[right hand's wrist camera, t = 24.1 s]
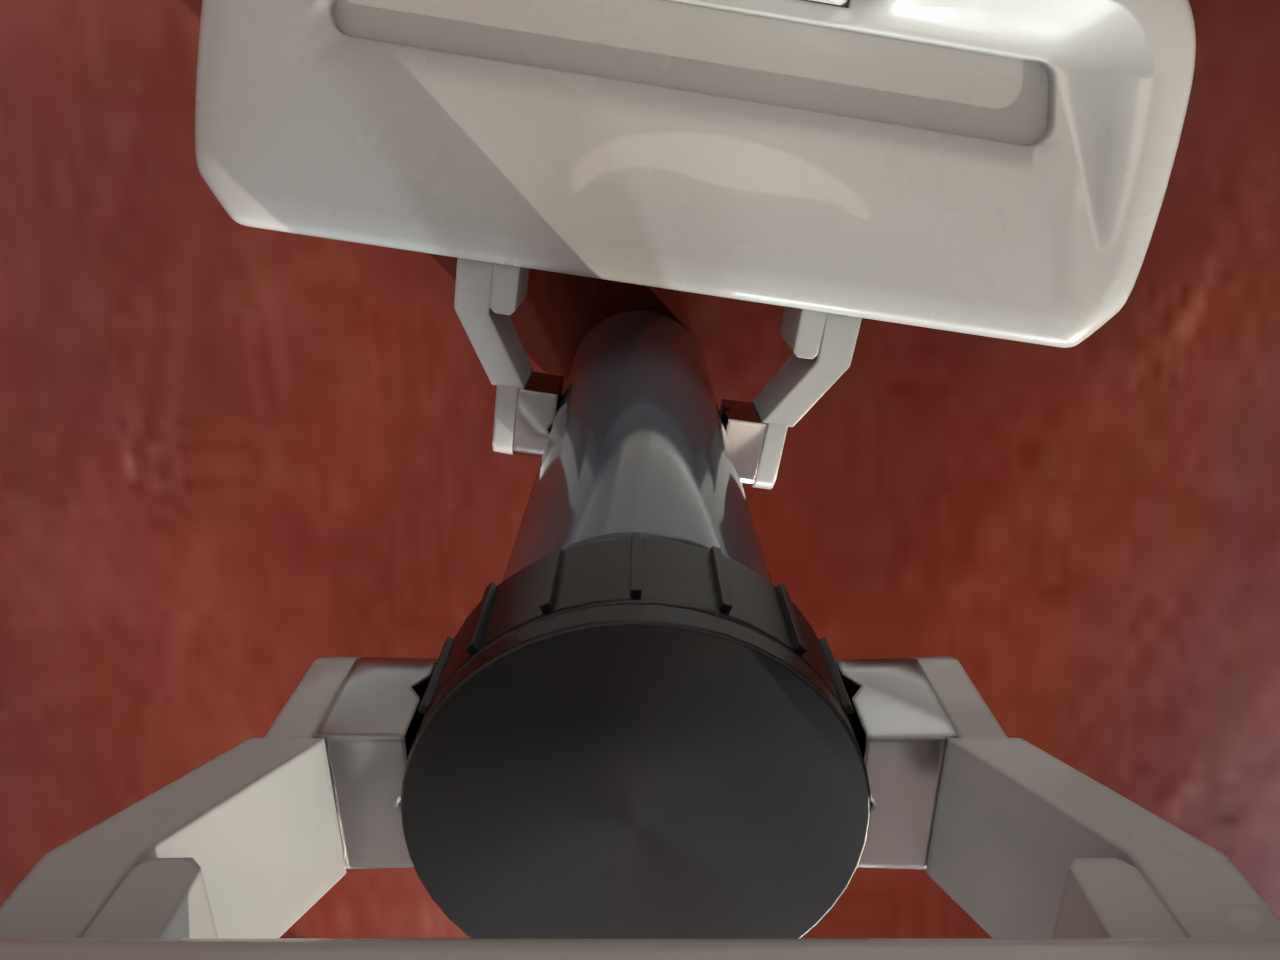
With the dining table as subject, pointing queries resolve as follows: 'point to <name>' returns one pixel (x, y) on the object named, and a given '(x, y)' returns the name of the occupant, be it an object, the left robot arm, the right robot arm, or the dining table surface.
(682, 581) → the lid
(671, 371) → the grey cylindrical rod
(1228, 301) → the dining table surface
